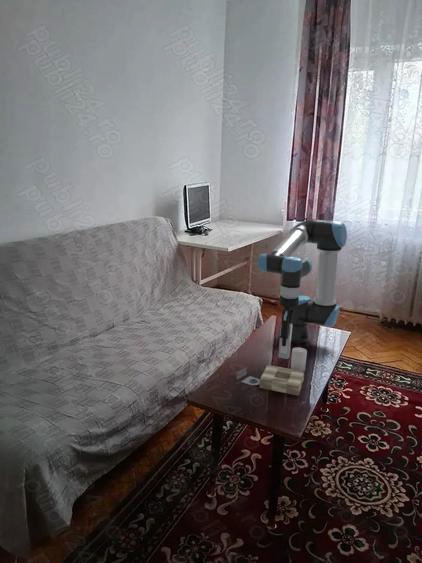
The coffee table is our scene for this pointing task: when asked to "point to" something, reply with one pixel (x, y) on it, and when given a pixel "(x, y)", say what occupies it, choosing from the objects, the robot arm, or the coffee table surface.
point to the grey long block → (284, 355)
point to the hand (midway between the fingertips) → (284, 350)
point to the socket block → (282, 380)
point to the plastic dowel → (298, 359)
